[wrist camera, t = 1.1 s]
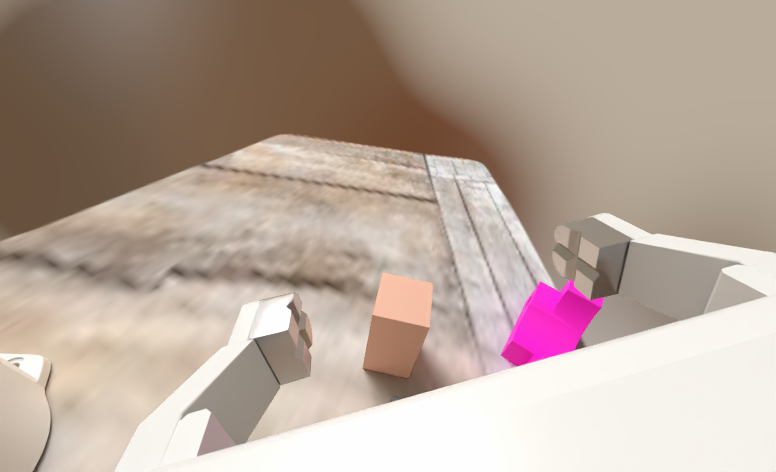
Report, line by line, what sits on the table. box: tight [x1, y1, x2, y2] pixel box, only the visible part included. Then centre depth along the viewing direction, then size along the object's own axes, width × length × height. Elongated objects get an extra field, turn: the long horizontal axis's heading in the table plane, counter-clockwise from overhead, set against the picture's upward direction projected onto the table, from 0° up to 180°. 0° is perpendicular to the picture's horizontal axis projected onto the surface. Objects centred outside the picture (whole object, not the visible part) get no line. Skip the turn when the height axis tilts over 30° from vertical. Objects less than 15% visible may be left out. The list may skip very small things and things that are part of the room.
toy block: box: [501, 280, 604, 366], centre depth 35 cm, size 15×6×8 cm, turn 144°
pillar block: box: [363, 273, 433, 379], centre depth 32 cm, size 5×5×10 cm
